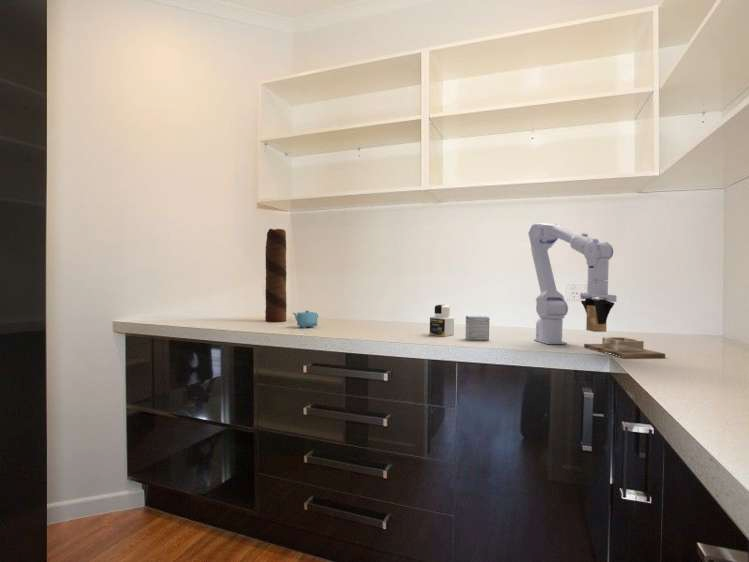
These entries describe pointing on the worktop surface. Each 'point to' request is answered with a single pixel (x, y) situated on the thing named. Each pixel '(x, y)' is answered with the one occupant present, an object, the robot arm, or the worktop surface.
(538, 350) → the worktop surface
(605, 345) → the walnut board
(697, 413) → the worktop surface
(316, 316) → the teapot
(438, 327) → the medicine bottle
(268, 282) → the wafer roll
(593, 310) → the oak peg
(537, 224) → the robot arm
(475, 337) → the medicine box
